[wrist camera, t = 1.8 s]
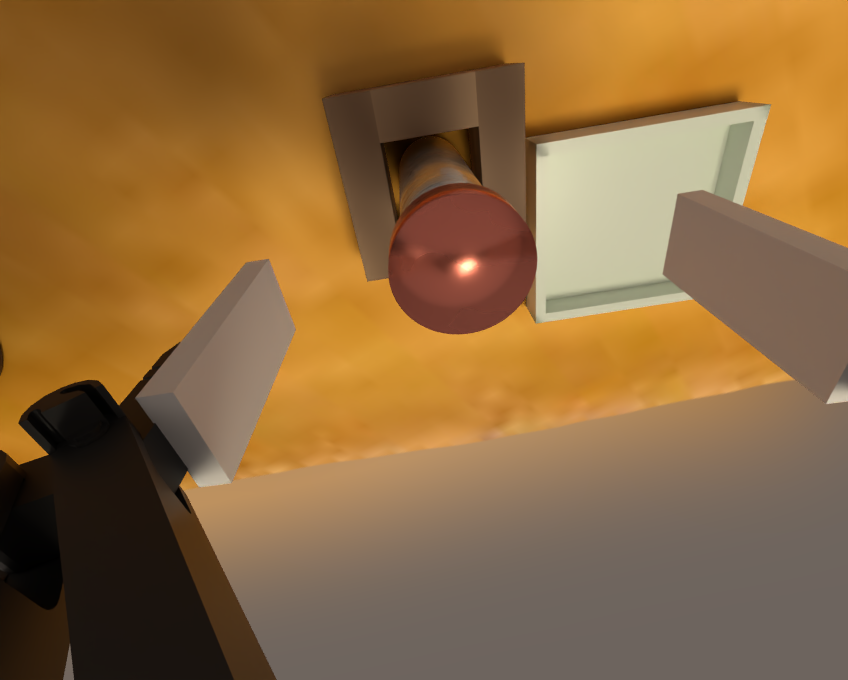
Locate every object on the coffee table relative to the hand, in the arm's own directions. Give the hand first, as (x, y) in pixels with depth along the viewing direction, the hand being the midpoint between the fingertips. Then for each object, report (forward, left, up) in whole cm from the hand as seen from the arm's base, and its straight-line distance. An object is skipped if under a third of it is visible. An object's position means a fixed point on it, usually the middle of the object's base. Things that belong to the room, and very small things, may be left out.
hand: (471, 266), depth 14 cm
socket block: (0, 0, -15) cm, 15 cm away
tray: (+12, -5, -15) cm, 20 cm away
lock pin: (0, 0, -15) cm, 15 cm away
